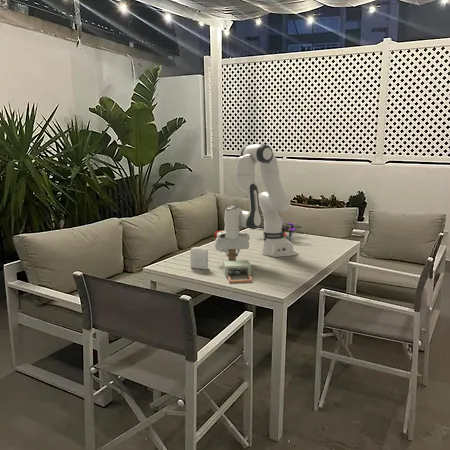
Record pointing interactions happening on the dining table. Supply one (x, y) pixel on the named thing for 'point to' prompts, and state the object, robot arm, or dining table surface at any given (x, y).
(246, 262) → the stand
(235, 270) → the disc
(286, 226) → the drone
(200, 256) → the photo printer
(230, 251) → the wooden handled metal tool
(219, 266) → the dining table surface
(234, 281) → the frame
